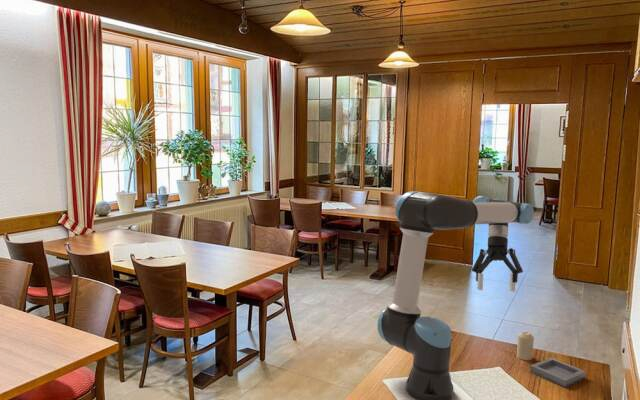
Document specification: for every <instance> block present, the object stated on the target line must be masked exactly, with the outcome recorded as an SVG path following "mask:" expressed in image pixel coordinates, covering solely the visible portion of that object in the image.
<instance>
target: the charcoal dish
mask: <svg viewBox="0 0 640 400" xmlns="http://www.w3.org/2000/svg"><path fill="white" fill-rule="evenodd" d="M529 372H530V373H531V374H534V375H536V376H538V377H540V378H542V379H545V380H547V381H549V382H552V383H554V384H556V385H559V386H560V387H563V388H564V389H565V388H567V387H570V386H572V385H574V384H576V383H578V382H581V381H582V380H584V379H586V374H587V371H585V370H583V369H581V368H578V367H576V366H573V365H571V364H568V363H565V362H563V361H561V360H559V359H556V358H554V357H548V358H545V359H543V360H541V361H539V362H536V363H533V364H530V369H529Z"/></svg>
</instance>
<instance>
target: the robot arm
mask: <svg viewBox="0 0 640 400" xmlns="http://www.w3.org/2000/svg"><path fill="white" fill-rule="evenodd" d="M394 212H395V217H396V220H397V221H398V222H399V230H400V231H401V232H402V239H401V245H400V252H399V258H398V262H397V263H398V265H397V271H396V278H395V282H394V291H393V295H392V296H393V297H392V301H391V302H389V303H388V304H387V307H386V308H385V309H383V310H382V311H381V314H380V315H379V316H378V318H377V324H376V325H377V332H378V334H379V336H380V338H381V340H383V341H384V342H386V343H388V345H391V346H394V347H396V348H399V349H401V350H403V351H405V352H407V353H409V354H411V355H412V357H413V358H412V367H411V370H410V373H409V374H408V377H407V379H406V382H405V383H406V385H405V386H406V387H405V389H406V392H407V393H408V394H409V395H410V396H411V397H413V398H415V399H416V400H452V398H453V397H454V385H453V382H452V378H451V374H450V363H451V351H452V350H451V348H452V344H453V343H452V342H453V341H452V330H451V328H450V326H449V324H447V323H446V322H445V321H443V320H442V319H440V318H436V317H431V316H421V314H422V313H421V312H422V310H421V309H420V308H419V306H418V304H419V297H420V291H421V284H422V280H423V279H422V278H423V272H424V266H425V259H426V255H427V253H426V252H427V248H428V242H429V238H430V237H431V236H432V235H433V234H434V232H435V230H439V231H442V230H443V231H446V230H448V231H449V230H460V229H469V228H472V227H473V226H475V225H488V232H487V236H488V238H487V249H483V248H482V249H480V250H479V255H478V257H477V258H476V261H475V263H474V265H473V266H472V269H471V271H472V272H474V273H475V274H476V275H475V281H476V282H477V283H476V284H477V288H476V289H477V290H479V291H484V290H483V289H484V288H483V287H484V273H483V272H484V271H485V270H486V269H487V268H488V266H489V265H490V264H491V263H492V262H493V261H494V262H495V261H496V262H497V261H500V262H501V261H503V263H504V264H505V265H506V266H507V268H508V269H509V271H510V272H511V273H509V276H510V277H509V292H513V293H515V292H516V283H518V279H519V278H518V277H519V275H518V274H522V273H523V272H524V271H523V268H522V266H521V264H520V263H521V262H520V261H519V259H518V257H517V255H516V249H514V248H508V246H509V245H508V244H509V242H508V241H509V239H508V237H509V223H516V224H525V225H528V224H530V223H531V222H532V221H533V218H534V216H535V215H534V214H535V212H534V207H533V206H532V205H531V204H530V203H525V202H518V201H517V202H516V201H508V200H507V199H503V198H489V197H487V196H484V195H479V196H476V197H475V198H474V199H473V200H470V199H467V198H466V199H461V198H457V197H453V196H449V195H445V194H437V193H431V192H430V193H429V192H423V191H420V190H419V191H407V192H405V193H403V195H402V196H400V197H399V199H398V201H397V202H396V205H395V209H394ZM486 255H487V256H486ZM507 255H509V257H510V258H511V260H512V261H510V260H509V258H508V257H507ZM452 396H453V397H452Z"/></svg>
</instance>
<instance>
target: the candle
mask: <svg viewBox="0 0 640 400" xmlns="http://www.w3.org/2000/svg"><path fill="white" fill-rule="evenodd" d="M517 336H518V337H517V347H516V357H517V358H518V359H519V360H523V361H531V360H533V355H534V354H533V351H534V341H535V338H534V336H533V334H531V332H530V331H524V332H523V331H522V332H520V333H519V334H518V335H517Z"/></svg>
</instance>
